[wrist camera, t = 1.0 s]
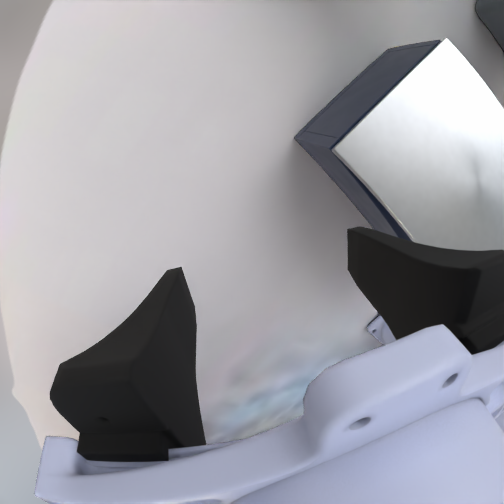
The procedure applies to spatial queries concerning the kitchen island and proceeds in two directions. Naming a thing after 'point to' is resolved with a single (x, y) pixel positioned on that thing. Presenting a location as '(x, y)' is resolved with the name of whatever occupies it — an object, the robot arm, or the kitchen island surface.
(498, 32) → the storage bin
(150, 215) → the kitchen island surface
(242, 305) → the kitchen island surface
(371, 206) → the tin
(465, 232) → the thin square panel
